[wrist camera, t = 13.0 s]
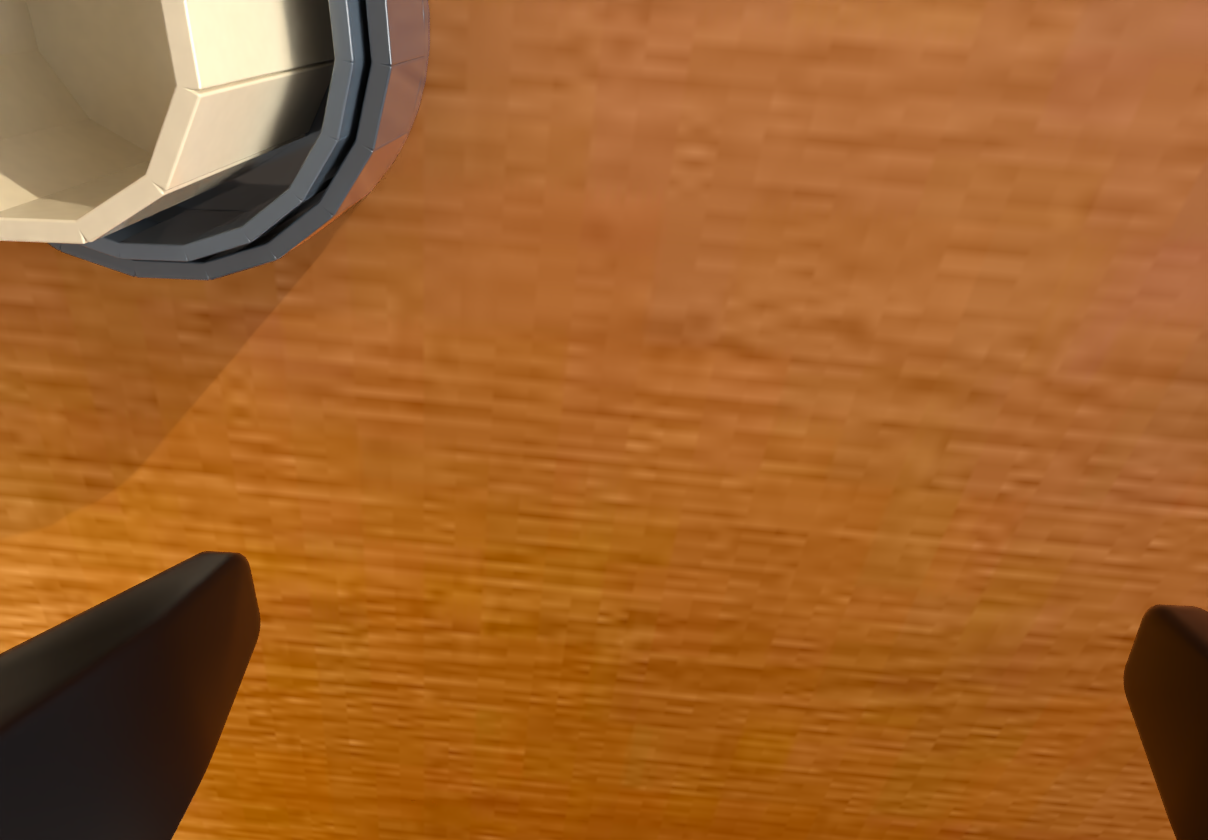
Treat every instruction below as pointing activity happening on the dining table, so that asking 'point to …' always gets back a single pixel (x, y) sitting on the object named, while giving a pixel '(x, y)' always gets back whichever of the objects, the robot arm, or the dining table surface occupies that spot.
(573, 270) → the dining table surface
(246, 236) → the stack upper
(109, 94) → the cream cup
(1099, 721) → the dining table surface
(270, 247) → the stack lower
